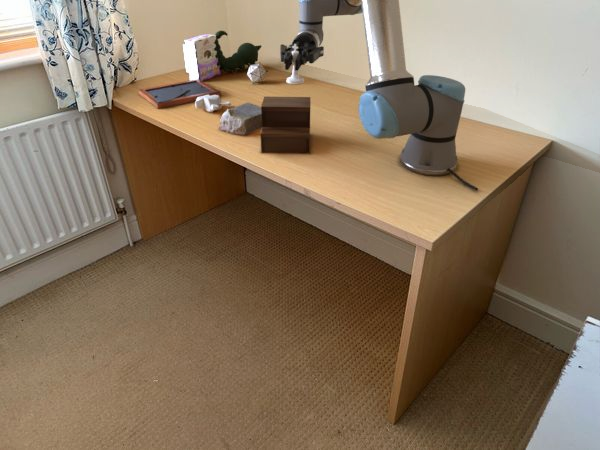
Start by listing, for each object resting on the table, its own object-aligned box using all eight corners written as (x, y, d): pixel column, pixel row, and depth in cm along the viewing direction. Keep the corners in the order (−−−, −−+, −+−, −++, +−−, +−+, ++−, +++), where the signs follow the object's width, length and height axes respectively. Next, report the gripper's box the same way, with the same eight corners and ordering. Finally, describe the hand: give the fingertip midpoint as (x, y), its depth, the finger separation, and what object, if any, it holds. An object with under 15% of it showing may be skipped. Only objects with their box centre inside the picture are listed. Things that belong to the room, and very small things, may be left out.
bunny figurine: (210, 91, 160) (233, 96, 150) (213, 104, 162) (235, 110, 152) (188, 96, 155) (210, 102, 145) (190, 110, 157) (212, 117, 147)
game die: (261, 92, 183) (266, 77, 174) (241, 85, 181) (246, 69, 173) (266, 76, 187) (271, 60, 178) (247, 69, 185) (251, 53, 176)
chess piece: (297, 85, 120) (298, 47, 114) (283, 82, 122) (282, 44, 116) (307, 80, 123) (307, 43, 117) (292, 77, 125) (292, 41, 119)
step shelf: (309, 153, 125) (310, 113, 119) (261, 152, 126) (259, 112, 119) (309, 134, 137) (310, 97, 130) (265, 133, 137) (264, 96, 130)
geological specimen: (273, 108, 142) (241, 119, 131) (272, 126, 145) (241, 138, 135) (249, 101, 147) (216, 111, 137) (249, 118, 150) (217, 129, 140)
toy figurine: (222, 81, 189) (269, 66, 201) (214, 35, 178) (264, 22, 189) (212, 76, 196) (258, 62, 207) (203, 31, 184) (252, 19, 195)
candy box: (210, 72, 194) (206, 33, 185) (220, 74, 191) (216, 34, 182) (189, 80, 184) (183, 39, 175) (199, 82, 182) (194, 41, 172)
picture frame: (157, 108, 156) (220, 95, 168) (156, 103, 155) (219, 90, 167) (139, 94, 169) (198, 83, 181) (138, 88, 168) (197, 78, 180)
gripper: (329, 58, 135) (319, 80, 115) (282, 56, 137) (264, 77, 118) (330, 32, 130) (320, 51, 111) (281, 30, 132) (263, 48, 113)
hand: (291, 64), depth 114 cm, fingers closed on chess piece, 2 cm apart
